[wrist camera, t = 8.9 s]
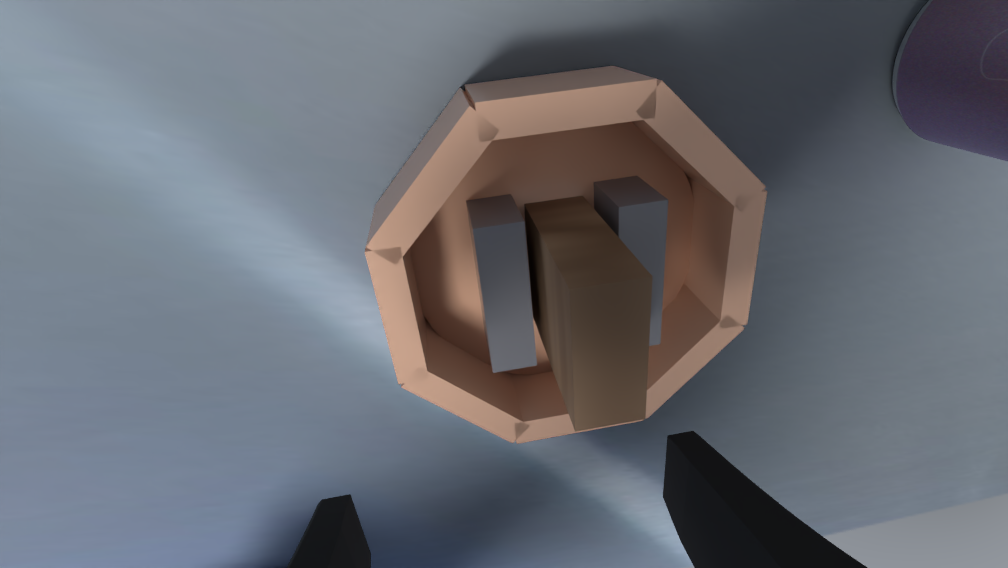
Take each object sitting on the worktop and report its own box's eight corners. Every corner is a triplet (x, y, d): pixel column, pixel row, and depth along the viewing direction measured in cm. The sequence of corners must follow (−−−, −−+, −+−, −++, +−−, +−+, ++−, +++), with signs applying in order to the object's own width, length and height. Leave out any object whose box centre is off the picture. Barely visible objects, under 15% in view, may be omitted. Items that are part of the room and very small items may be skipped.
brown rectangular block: (533, 317, 19) (574, 431, 14) (524, 203, 17) (569, 289, 12) (584, 308, 20) (645, 418, 14) (582, 195, 17) (652, 276, 12)
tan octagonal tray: (418, 397, 22) (418, 461, 19) (348, 99, 16) (331, 121, 13) (692, 350, 23) (734, 403, 20) (720, 51, 17) (787, 61, 14)
